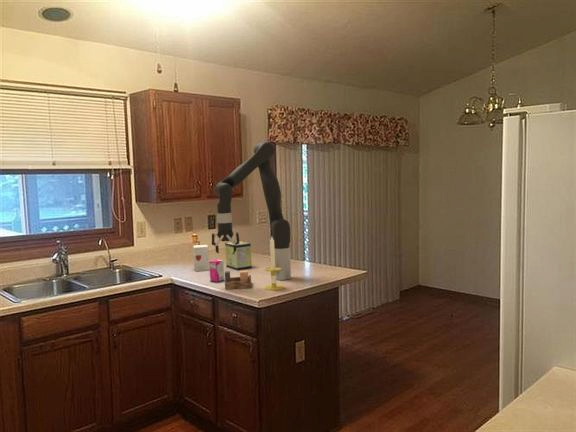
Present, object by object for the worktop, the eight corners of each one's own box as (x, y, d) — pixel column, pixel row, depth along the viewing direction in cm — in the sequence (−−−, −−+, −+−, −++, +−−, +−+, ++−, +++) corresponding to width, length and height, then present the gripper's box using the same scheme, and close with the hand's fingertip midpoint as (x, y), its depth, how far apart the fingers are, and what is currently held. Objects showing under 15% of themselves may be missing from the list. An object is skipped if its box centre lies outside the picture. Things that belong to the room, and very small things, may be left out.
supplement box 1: (194, 271, 305) (193, 247, 303) (194, 268, 313) (192, 245, 312) (209, 270, 306) (208, 246, 305) (208, 267, 315) (207, 244, 314)
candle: (287, 287, 253) (285, 235, 250) (271, 291, 247) (268, 237, 245) (276, 284, 261) (274, 233, 258) (260, 287, 255) (258, 235, 253)
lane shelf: (251, 282, 267) (250, 274, 267) (250, 288, 255) (250, 279, 255) (227, 284, 267) (226, 275, 266) (225, 289, 255) (224, 280, 254)
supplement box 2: (217, 279, 280) (216, 259, 279) (224, 280, 276) (223, 260, 275) (209, 281, 275) (208, 260, 274) (217, 282, 271) (216, 261, 270)
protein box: (240, 264, 321) (239, 240, 320) (252, 268, 308) (251, 243, 307) (225, 267, 315) (224, 242, 314) (237, 270, 302) (236, 245, 301)
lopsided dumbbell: (248, 281, 264) (247, 269, 263) (248, 283, 259) (247, 271, 258) (225, 282, 263) (225, 271, 263) (225, 284, 258) (224, 272, 258)
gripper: (238, 220, 262) (240, 251, 263) (211, 221, 261) (213, 252, 263) (238, 221, 254) (239, 253, 256) (210, 223, 254) (211, 254, 255)
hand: (226, 252), depth 259 cm, fingers open, 8 cm apart
